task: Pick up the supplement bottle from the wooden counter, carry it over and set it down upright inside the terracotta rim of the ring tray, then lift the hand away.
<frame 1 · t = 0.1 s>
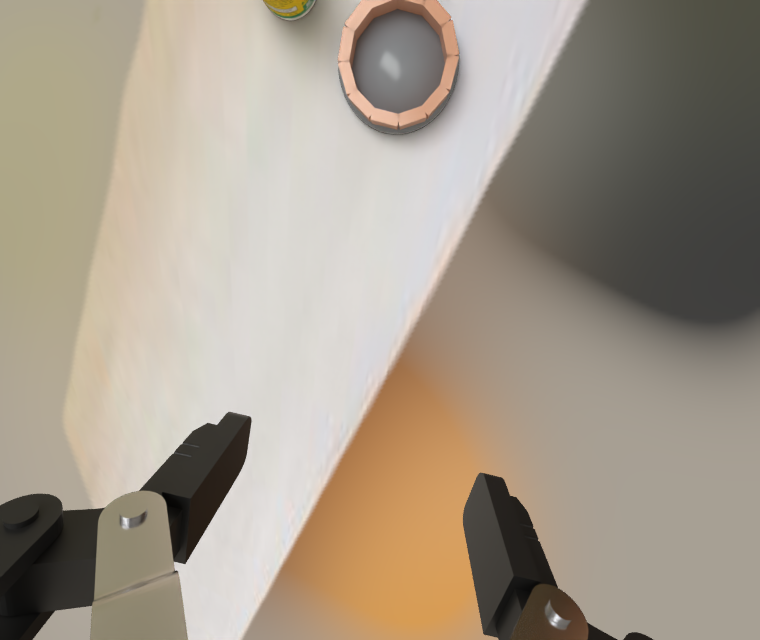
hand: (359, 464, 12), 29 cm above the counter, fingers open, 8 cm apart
ring tray: (398, 68, 34), on the counter
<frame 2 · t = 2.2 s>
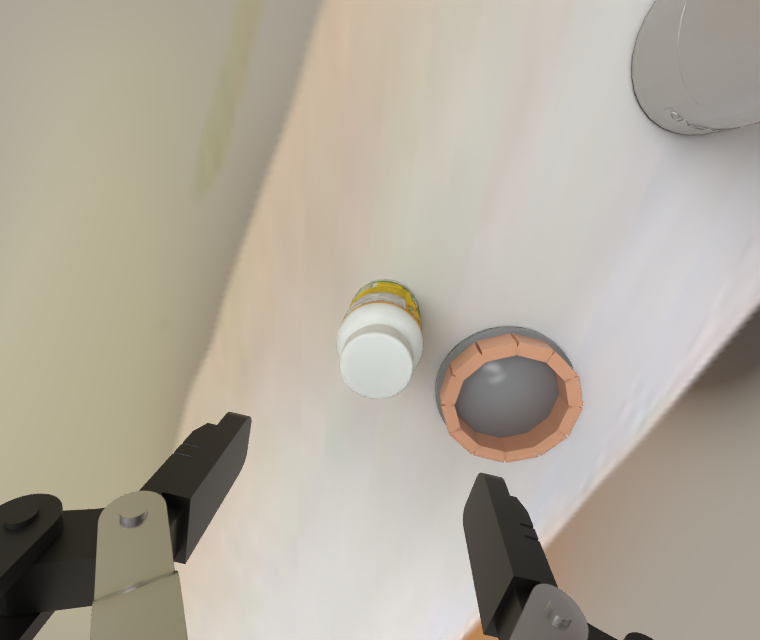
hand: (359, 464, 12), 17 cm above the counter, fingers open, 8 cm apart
ring tray: (502, 388, 30), on the counter
supplement bottle: (385, 311, 28), on the counter
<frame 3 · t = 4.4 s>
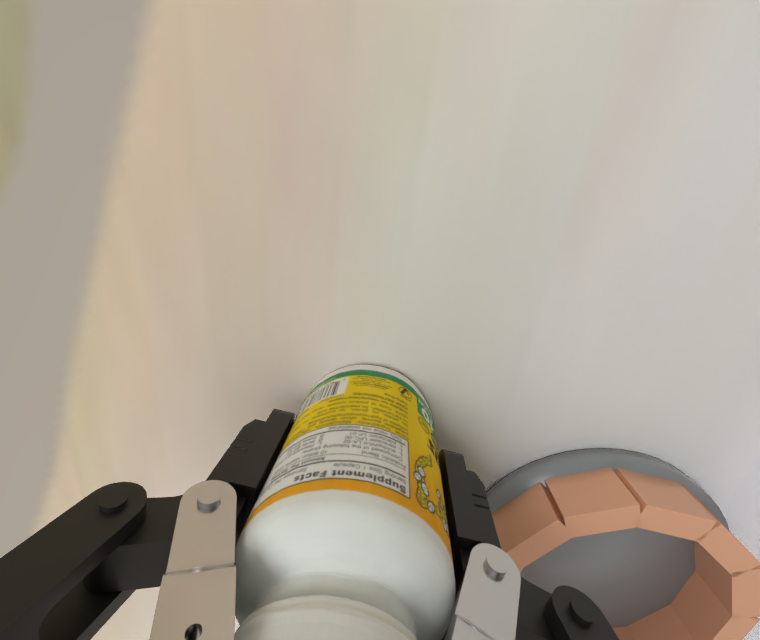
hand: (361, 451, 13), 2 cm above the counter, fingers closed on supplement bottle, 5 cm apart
ring tray: (583, 549, 16), on the counter
supplement bottle: (368, 417, 15), on the counter, touching gripper
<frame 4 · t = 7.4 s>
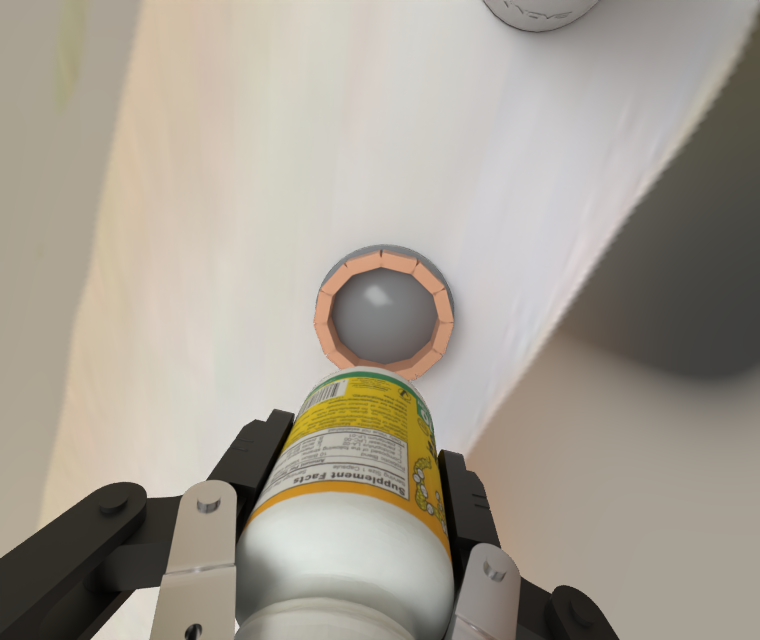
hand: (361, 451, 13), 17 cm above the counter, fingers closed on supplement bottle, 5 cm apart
ring tray: (384, 313, 29), on the counter
supplement bottle: (367, 418, 15), point 15 cm above the counter, touching gripper
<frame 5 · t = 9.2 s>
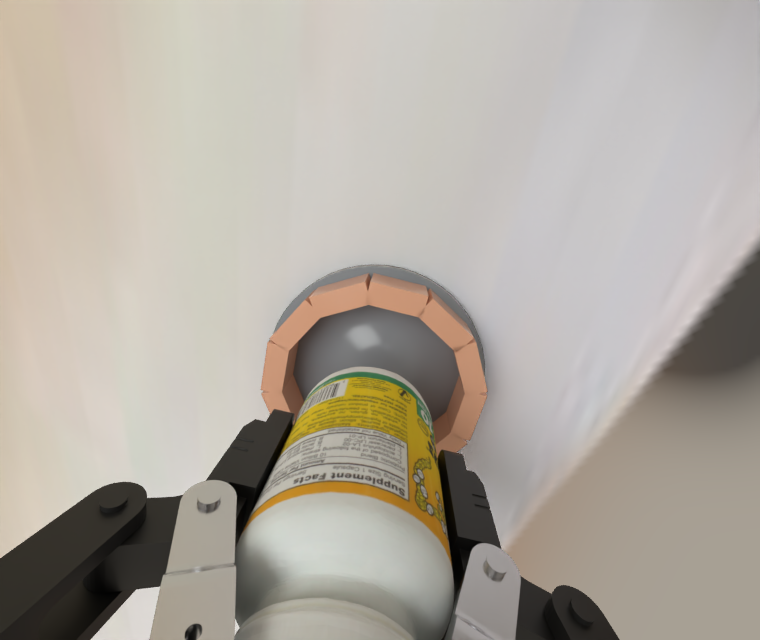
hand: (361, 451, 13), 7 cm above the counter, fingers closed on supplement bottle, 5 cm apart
ring tray: (375, 367, 19), on the counter
supplement bottle: (367, 418, 15), point 4 cm above the counter, touching gripper
when the fingers open (4 cm above the counter, at t = 10.6 s): supplement bottle drops 1 cm, resting on ring tray.
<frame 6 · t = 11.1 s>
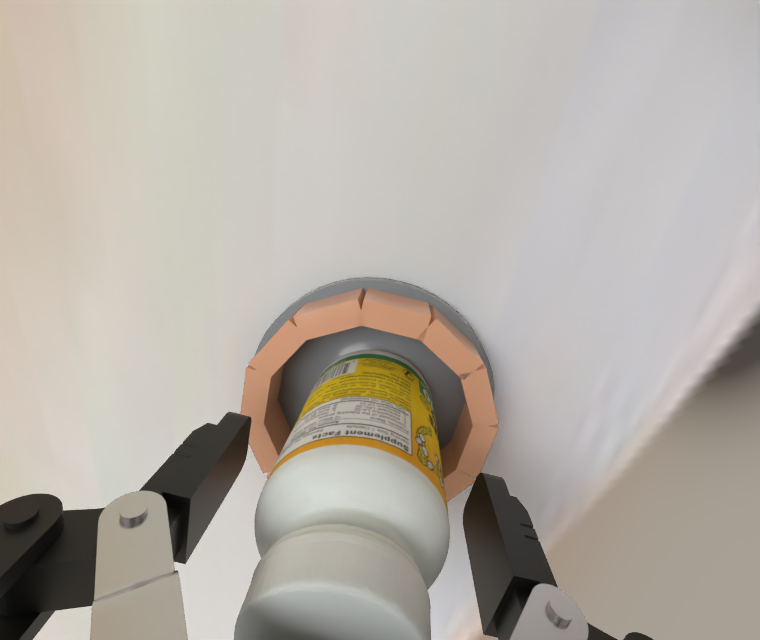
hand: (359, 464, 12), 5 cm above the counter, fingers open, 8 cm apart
ring tray: (371, 392, 17), on the counter
supplement bottle: (373, 399, 16), point 1 cm above the counter, touching ring tray
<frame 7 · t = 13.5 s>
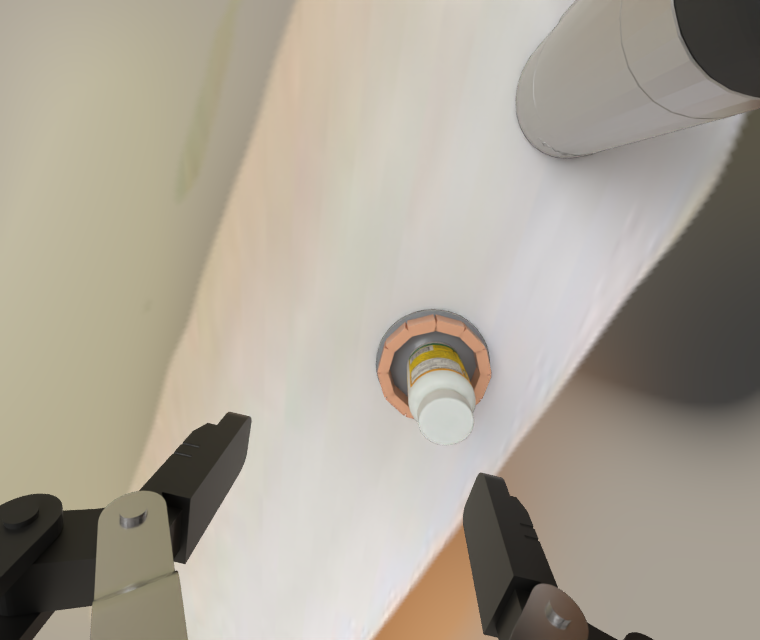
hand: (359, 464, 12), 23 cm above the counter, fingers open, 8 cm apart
ring tray: (431, 362, 36), on the counter
supplement bottle: (433, 365, 35), point 1 cm above the counter, touching ring tray
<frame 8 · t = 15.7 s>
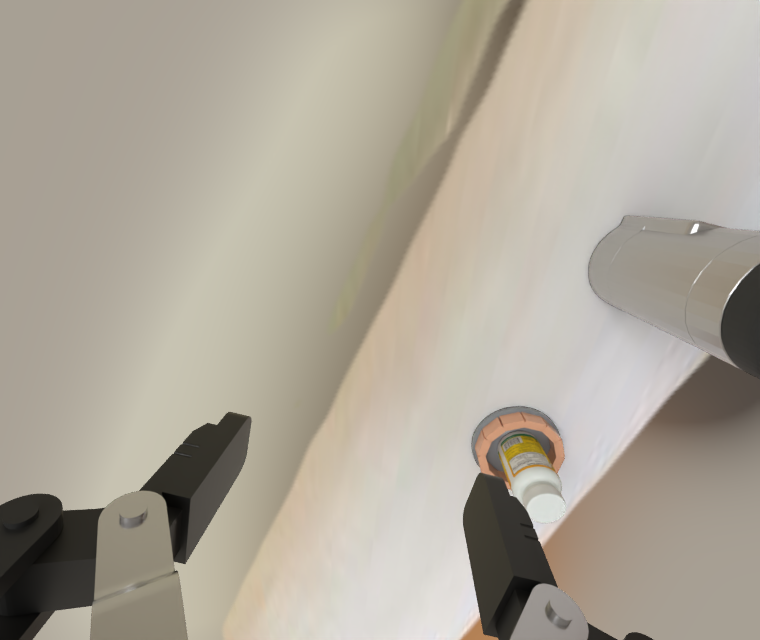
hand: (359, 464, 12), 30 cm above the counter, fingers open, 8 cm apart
ring tray: (514, 443, 47), on the counter
supplement bottle: (517, 446, 46), point 1 cm above the counter, touching ring tray
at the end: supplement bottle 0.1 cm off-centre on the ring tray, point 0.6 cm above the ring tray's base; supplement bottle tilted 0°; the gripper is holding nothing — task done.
